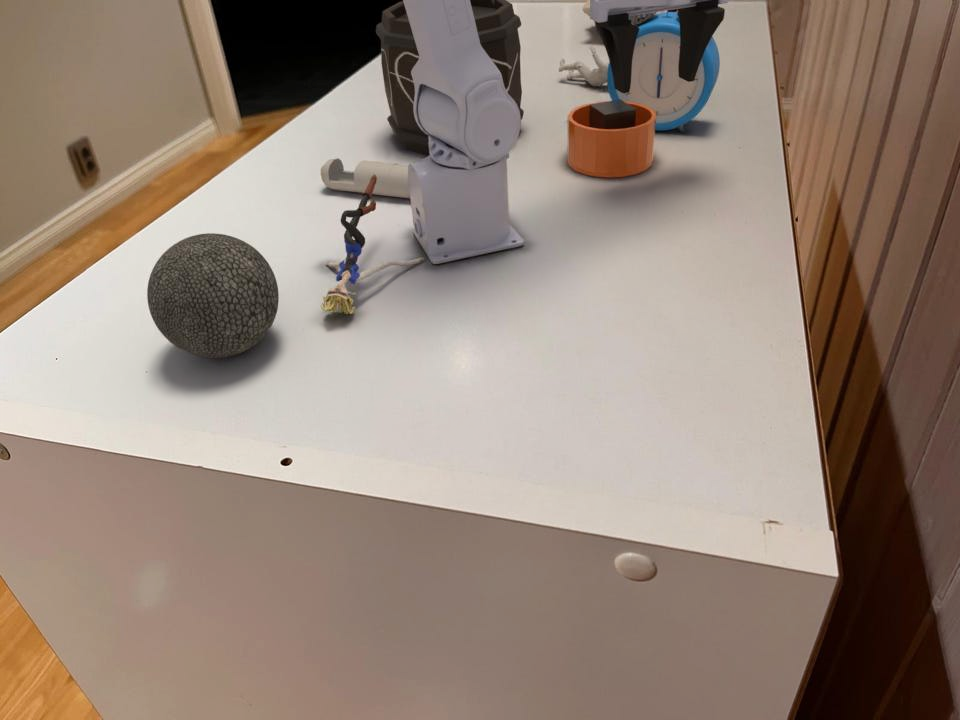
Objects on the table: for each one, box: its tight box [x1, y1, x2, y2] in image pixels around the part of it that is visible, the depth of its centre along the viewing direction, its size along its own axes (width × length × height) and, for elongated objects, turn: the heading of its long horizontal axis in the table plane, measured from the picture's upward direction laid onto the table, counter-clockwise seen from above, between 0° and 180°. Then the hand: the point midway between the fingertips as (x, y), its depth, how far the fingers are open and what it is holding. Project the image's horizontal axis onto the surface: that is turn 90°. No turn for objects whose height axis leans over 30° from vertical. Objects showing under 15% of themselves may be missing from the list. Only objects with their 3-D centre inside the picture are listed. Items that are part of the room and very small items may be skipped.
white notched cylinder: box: [320, 143, 430, 199], centre depth 86 cm, size 18×5×7 cm, turn 69°
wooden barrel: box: [375, 0, 525, 156], centre depth 98 cm, size 18×18×16 cm
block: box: [589, 99, 636, 129], centre depth 91 cm, size 4×4×6 cm
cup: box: [566, 101, 656, 178], centre depth 91 cm, size 10×10×6 cm
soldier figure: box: [558, 45, 609, 87], centre depth 115 cm, size 8×5×12 cm
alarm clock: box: [606, 10, 721, 133], centre depth 97 cm, size 13×6×15 cm, turn 69°
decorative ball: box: [146, 232, 280, 359], centre depth 62 cm, size 10×10×10 cm
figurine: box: [302, 174, 425, 331], centre depth 72 cm, size 10×9×20 cm
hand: (654, 84), depth 82 cm, fingers open, 7 cm apart
